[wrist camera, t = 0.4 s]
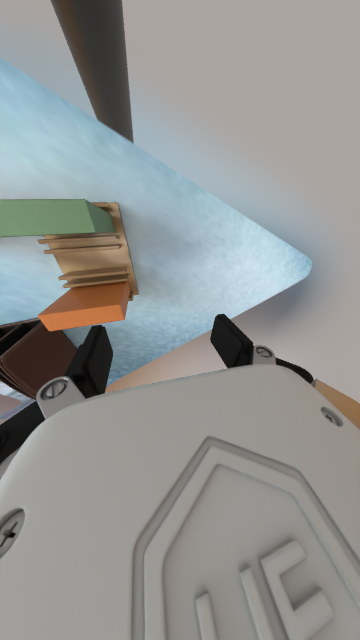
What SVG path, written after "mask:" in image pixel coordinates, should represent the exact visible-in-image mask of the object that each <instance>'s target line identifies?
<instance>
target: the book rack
mask: <svg viewBox="0 0 360 640" xmlns="http://www.w3.org/2000/svg"><path fill="white" fill-rule="evenodd" d="M92 204H94V205H95V206H97V207H99V208H101V209H102V210H104V211H106V212H108V213H109V214H111V217H112V221H113V225H114V229H115V232H111V233H89V234H67V235H44V237H45V239H42V240H38V242H39V244H44V243H48V245H49V247H50V249H49V250H44V253H45V254H53V255H54V257H55V258H56V260H57V262H58V264H59V266H60V268H61V270H62V272H63V274H64V275H62V276H60V277H58V278H59V280H67V281H68V282H67V283H65V284H64V285H63V287H64V288H69V287H71V288H72V287H78V286H87V285H96V284H105V283H115V282H124V281H128V282H129V286H130V294H129V299H128V301H131V300H133V295H138V294H139V293H138V288H137V284H136V280H135V275H134V271H133V267H132V262H131V258H130V254H129V249H128V245H127V240H126V236H125V232H124V227H123V223H122V219H121V214H120V210H119V205H118V203H107V202H95V203H92Z"/></svg>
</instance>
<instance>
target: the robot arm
mask: <svg viewBox="0 0 360 640" xmlns="http://www.w3.org/2000/svg"><path fill="white" fill-rule="evenodd" d="M210 340H211V343H212V344H213V346H214V347H215V349H216V351H217V352H218V354H219V355H220V357H221V358H222V360H223V362H224V363H225V365H226V366H227V368H228V369H223V370H218V371H213V372H208V373H203V374H198V375H192V376H187V377H182V378H177V379H172V380H167V381H162V382H157V383H152V384H147V385H142V386H137V387H132V388H127V389H123V390H118V391H113V392H109V393H105V389H106V385H107V380H108V376H109V371H110V367H111V362H112V357H113V350H112V347H111V344H110V341H109V338H108V335H107V332H106V329H105V327H102V325H95V326H92V327H91V329H90V331H89V333H88V335H87V337H86V339H85V341H84V343H83V344H81V345H80V346H79V348H78V350H77V351H76V353H75V355H74V357H73V359H72V361H71V363H70V365H69V367H68V368H67V370H66V372H65V374H64V376H61V377H57V378H54V379H52V380H50V381H49V382H47V383H46V384H45V385H43V386H42V387H41V388H40V390H39V391H38V392H37V395H36V401H35V402H33V403H32V404H30V405H29V406H27V407H26V408H24V409H23V410H22V411H20V412H19V413H17V414H16V415H14V416H13V417H11V418H10V419H8V420H7V421H6V422H4V423H3V424H1V425H0V640H360V404H359V403H358V402H356V401H355V400H353V399H352V398H350V397H348V396H346V395H344V394H343V393H341V392H339V391H337V390H335V389H334V388H332V387H330V386H328V385H326V384H325V383H323V382H321V381H319V380H317V379H316V380H314V379H313V377H312V375H311V374H310V373H309V372H308V371H306V370H305V369H303V368H301V367H299V366H297V365H294V364H291V363H289V362H286V361H283V360H281V359H278V358H276V357H275V355H274V353H273V351H272V350H270V349H269V348H267V347H265V346H262V345H256V346H253V342H252V341H251V340H250V339H249V338H248V337H247V336H246V335H245V334H244V333H243V332H242V331H241V330H240V329H239V328H238V327H237V326H236V325H235V324H234V323H233V322H232V321H231V320H230V319H229V318H228V317H227V316H226V315H225V314H218V315H217V316H216V317H215V321H214V325H213V329H212V334H211V338H210Z"/></svg>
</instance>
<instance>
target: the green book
mask: <svg viewBox="0 0 360 640" xmlns="http://www.w3.org/2000/svg"><path fill="white" fill-rule="evenodd" d="M111 232H115V229H114V225H113V221H112V217H111V214H109V213H108V212H106V211H104V210H102V209H101V208H99V207H97V206H95V205H94V204H92V203H90V202H89V201H87V200H85V199H20V200H0V237H16V236H43V235H67V234H89V233H111Z"/></svg>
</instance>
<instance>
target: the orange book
mask: <svg viewBox="0 0 360 640" xmlns="http://www.w3.org/2000/svg"><path fill="white" fill-rule="evenodd" d="M129 294H130V286H129V282H128V281H124V282H115V283H105V284H96V285H87V286H78V287H72V288H71V289H70V290H69V291H67V292H66V293H65V294H64V295H63V296H61V297H60V298H59V299H58V300H56V301H55V302H54V303H53V304H51V305H50V306H49V307H48V308H46V309H45V310H44V311H43V312H42V313H40V314H39V315H38V317H39V319H40V320H41V321H42V323H43V324H44V325H45V327H46V328H47V329H48V331H56V330H62V329H68V328H75V327H81V326H87V325H94V324H100V323H106V322H113V321H119V320H125V315H126V310H127V304H128V299H129Z"/></svg>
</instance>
